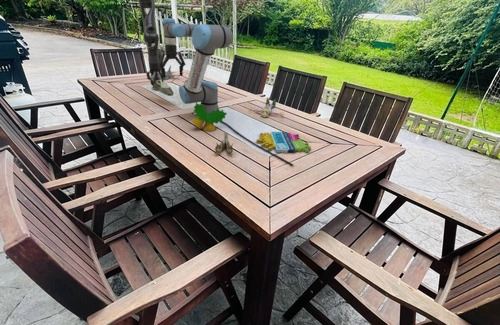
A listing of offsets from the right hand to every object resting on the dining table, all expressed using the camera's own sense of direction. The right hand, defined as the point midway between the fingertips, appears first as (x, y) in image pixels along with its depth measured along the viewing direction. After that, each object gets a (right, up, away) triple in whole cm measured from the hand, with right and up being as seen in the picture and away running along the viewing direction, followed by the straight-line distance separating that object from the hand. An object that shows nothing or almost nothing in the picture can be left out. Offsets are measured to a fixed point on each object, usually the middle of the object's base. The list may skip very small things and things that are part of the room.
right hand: (172, 76), depth 187 cm
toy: (+69, -23, +14) cm, 74 cm away
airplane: (-35, +28, +90) cm, 101 cm away
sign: (+74, -50, -35) cm, 96 cm away
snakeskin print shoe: (-12, -8, +13) cm, 19 cm away
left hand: (-18, -1, +17) cm, 24 cm away
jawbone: (+42, -56, -49) cm, 85 cm away
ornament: (+30, -40, -23) cm, 55 cm away
